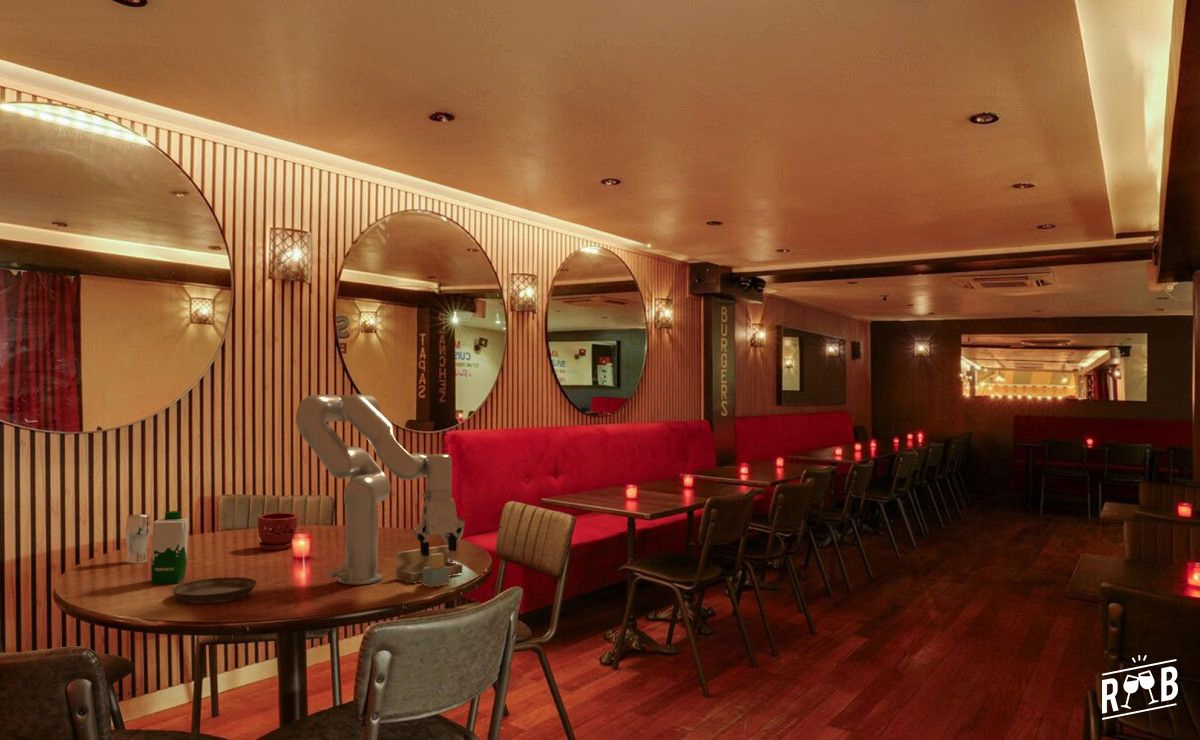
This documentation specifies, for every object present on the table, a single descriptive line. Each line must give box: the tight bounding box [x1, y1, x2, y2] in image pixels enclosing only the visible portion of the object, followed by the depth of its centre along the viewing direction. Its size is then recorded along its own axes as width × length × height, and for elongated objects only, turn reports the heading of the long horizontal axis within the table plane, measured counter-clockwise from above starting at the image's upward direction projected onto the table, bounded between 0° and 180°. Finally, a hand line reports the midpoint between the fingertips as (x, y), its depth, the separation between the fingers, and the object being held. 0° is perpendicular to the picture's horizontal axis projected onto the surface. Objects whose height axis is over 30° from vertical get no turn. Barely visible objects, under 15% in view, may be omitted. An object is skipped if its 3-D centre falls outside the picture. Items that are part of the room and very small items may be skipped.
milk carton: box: [150, 510, 189, 585], centre depth 221 cm, size 9×9×20 cm
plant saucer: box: [171, 576, 258, 605], centre depth 206 cm, size 21×21×3 cm
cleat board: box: [395, 544, 463, 584], centre depth 233 cm, size 18×9×8 cm, turn 136°
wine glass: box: [441, 517, 465, 562], centre depth 250 cm, size 8×8×15 cm
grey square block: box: [421, 553, 450, 586], centre depth 223 cm, size 6×5×9 cm
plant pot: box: [257, 512, 298, 551], centre depth 272 cm, size 13×13×12 cm
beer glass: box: [125, 513, 152, 565], centre depth 246 cm, size 7×7×15 cm
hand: (438, 553), depth 224 cm, fingers open, 9 cm apart
